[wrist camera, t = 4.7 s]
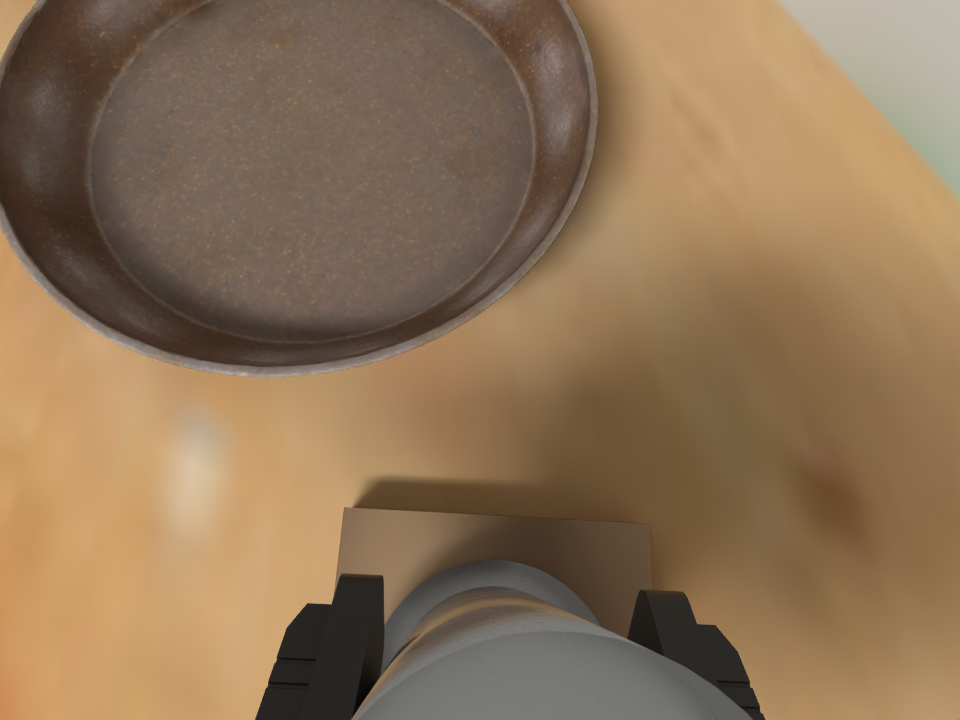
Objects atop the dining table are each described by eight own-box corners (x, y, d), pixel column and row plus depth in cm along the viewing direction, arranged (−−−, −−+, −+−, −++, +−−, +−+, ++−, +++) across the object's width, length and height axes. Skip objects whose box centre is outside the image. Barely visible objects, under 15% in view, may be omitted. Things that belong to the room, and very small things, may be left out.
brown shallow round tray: (61, -29, 23) (4, -114, 20) (533, -65, 24) (543, -149, 21) (25, 443, 18) (-59, 420, 15) (630, 364, 19) (661, 329, 16)
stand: (311, 857, 15) (301, 878, 14) (350, 510, 17) (344, 507, 16) (649, 873, 15) (662, 895, 14) (640, 525, 17) (650, 524, 16)
